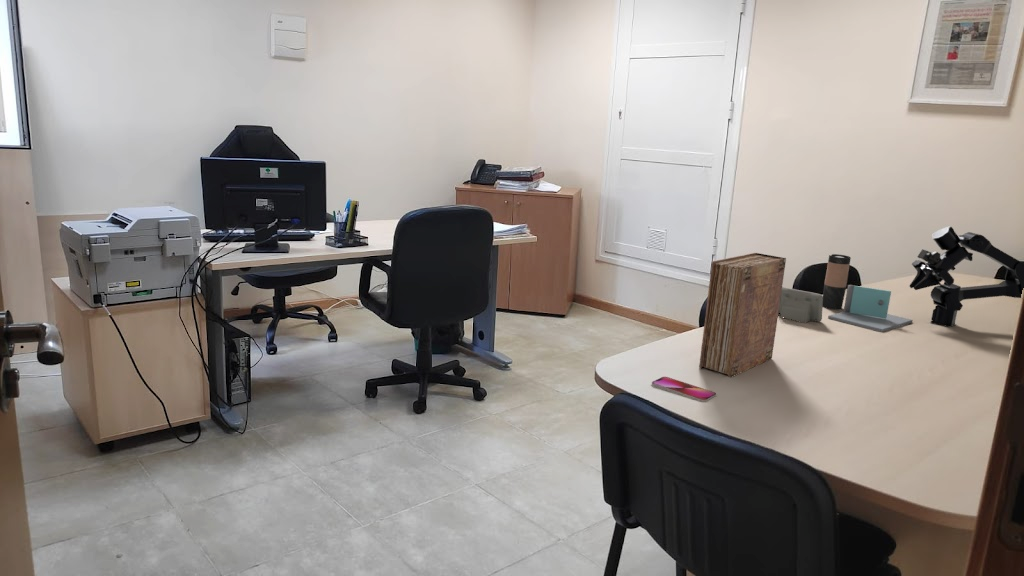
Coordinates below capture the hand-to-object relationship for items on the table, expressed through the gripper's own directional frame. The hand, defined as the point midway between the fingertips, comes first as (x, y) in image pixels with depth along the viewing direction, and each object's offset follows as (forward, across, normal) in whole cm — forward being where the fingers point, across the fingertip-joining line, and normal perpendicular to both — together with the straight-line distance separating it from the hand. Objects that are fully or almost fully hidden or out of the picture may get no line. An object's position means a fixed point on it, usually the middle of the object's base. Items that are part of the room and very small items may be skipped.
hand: (912, 288), depth 250 cm
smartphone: (+78, +81, -60) cm, 127 cm away
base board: (+18, +1, 0) cm, 18 cm away
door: (+18, -1, -3) cm, 18 cm away
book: (+64, +58, -46) cm, 98 cm away
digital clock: (+38, +4, -20) cm, 43 cm away
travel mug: (+23, -16, -5) cm, 29 cm away
